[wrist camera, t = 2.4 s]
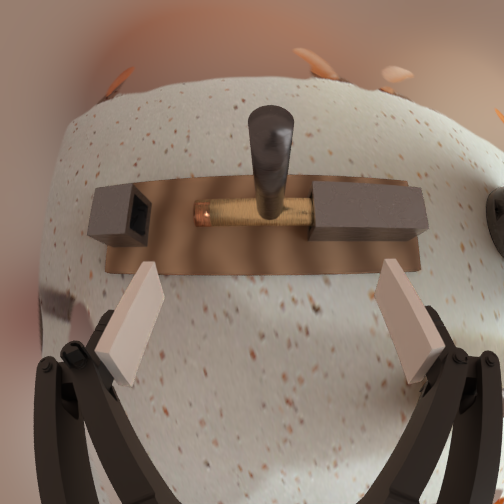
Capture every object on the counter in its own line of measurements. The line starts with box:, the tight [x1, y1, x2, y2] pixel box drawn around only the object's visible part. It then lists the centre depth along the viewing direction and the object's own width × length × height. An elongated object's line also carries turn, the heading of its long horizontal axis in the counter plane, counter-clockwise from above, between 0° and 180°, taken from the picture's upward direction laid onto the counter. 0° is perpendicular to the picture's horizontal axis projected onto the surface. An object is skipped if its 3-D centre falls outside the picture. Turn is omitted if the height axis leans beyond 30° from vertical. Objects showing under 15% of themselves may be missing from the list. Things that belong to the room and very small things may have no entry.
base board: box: [105, 175, 421, 275], centre depth 37 cm, size 46×14×2 cm, turn 90°
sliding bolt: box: [193, 105, 314, 227], centre depth 25 cm, size 27×3×19 cm, turn 90°
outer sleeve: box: [307, 181, 429, 241], centre depth 33 cm, size 15×6×6 cm, turn 90°
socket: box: [87, 183, 152, 247], centre depth 34 cm, size 6×7×7 cm
